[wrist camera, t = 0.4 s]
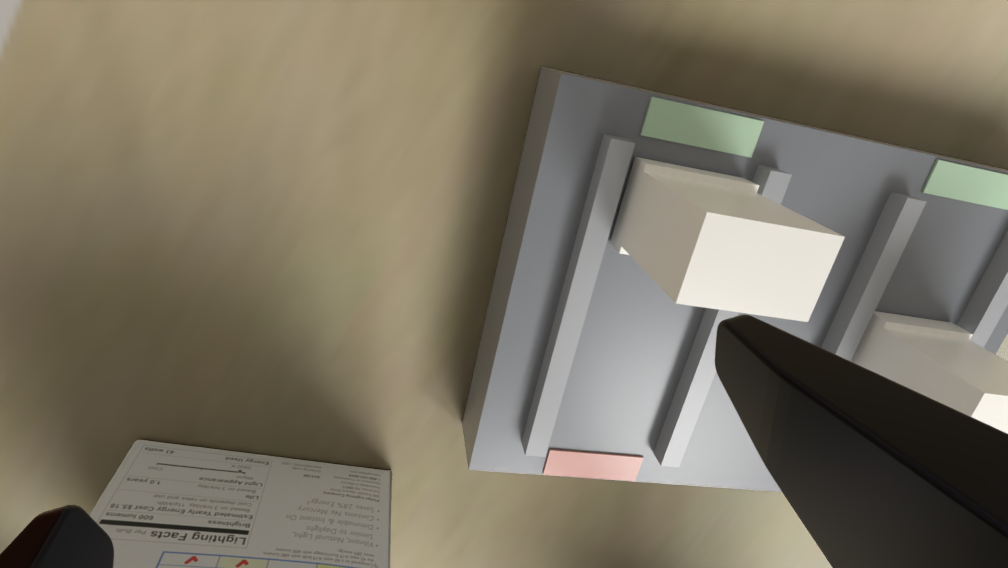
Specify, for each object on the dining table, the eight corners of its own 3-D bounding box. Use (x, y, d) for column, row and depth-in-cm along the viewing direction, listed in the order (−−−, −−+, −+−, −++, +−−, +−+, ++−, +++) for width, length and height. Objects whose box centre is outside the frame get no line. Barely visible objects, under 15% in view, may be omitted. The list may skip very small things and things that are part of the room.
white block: (918, 386, 26) (1039, 473, 21) (836, 376, 25) (943, 464, 20) (951, 322, 25) (1088, 398, 20) (867, 309, 24) (989, 386, 19)
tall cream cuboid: (714, 260, 22) (804, 330, 17) (610, 243, 21) (672, 312, 16) (744, 178, 21) (848, 227, 16) (634, 156, 20) (710, 202, 15)
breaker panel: (867, 459, 31) (924, 513, 28) (462, 423, 27) (470, 483, 23) (1017, 171, 26) (1111, 195, 22) (541, 65, 21) (567, 75, 18)
